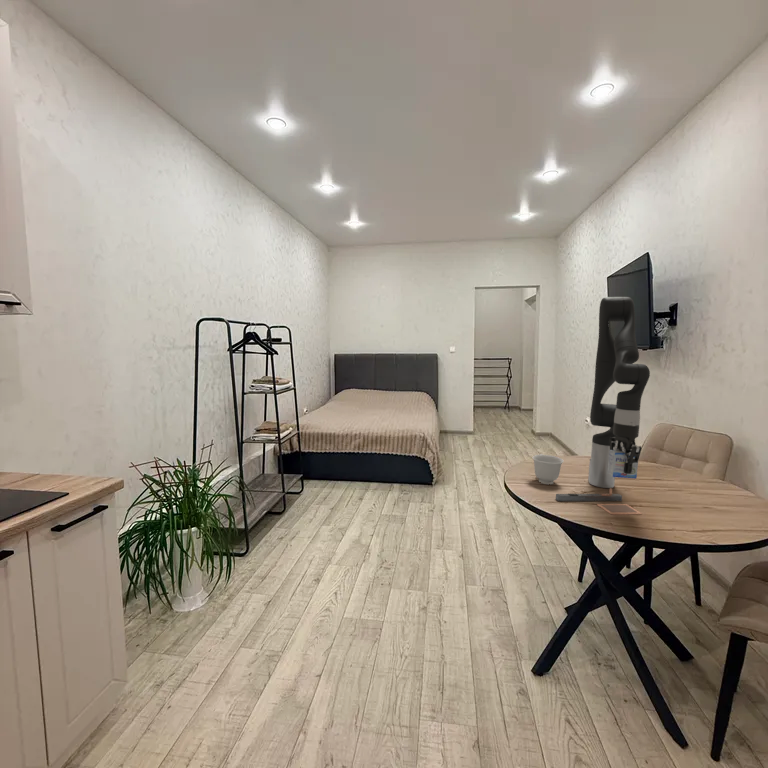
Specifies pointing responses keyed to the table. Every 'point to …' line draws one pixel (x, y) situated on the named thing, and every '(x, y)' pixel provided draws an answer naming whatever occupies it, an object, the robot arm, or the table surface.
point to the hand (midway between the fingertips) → (622, 470)
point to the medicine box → (620, 465)
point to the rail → (589, 497)
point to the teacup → (547, 468)
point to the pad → (618, 509)
